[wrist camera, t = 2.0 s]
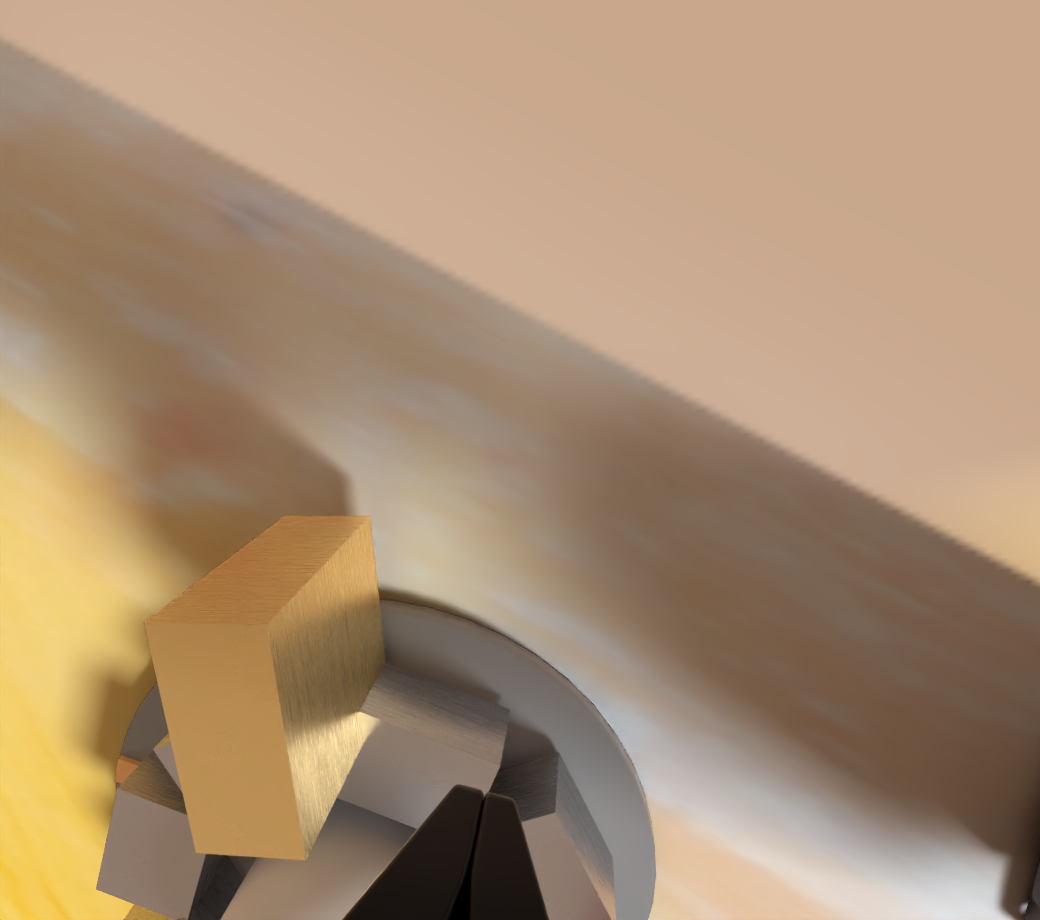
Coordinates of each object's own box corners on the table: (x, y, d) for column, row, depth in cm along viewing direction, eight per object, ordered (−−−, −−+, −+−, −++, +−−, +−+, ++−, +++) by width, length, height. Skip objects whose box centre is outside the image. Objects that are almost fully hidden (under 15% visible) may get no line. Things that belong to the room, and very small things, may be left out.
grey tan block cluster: (612, 1056, 17) (620, 1316, 13) (192, 1015, 19) (72, 1237, 14) (614, 516, 13) (628, 633, 9) (67, 515, 14) (-160, 615, 10)
